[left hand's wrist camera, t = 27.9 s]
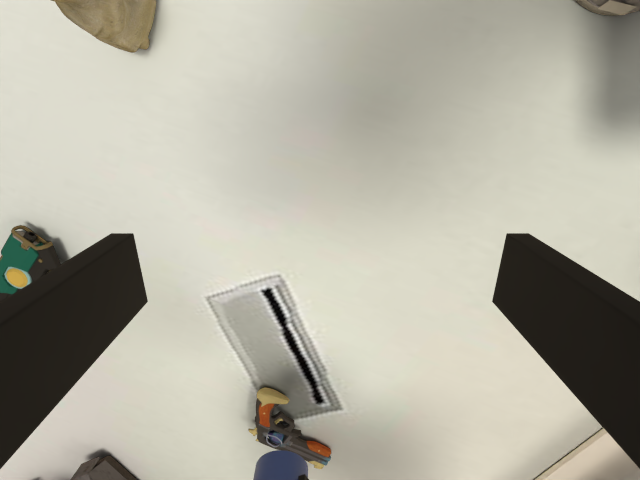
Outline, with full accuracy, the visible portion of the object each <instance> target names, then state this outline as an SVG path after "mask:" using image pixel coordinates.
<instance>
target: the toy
mask: <svg viewBox="0 0 640 480" xmlns="http://www.w3.org/2000/svg"><path fill="white" fill-rule="evenodd" d="M99 459H100V457H97V458H94V459H92V460H90V461H88V462H85V463H83V464H81V466H80V467H79V469H78V470H77V471H76V473H75V474H74V476H73V477H72V479H71V480H137V479H136V478H135V477H133V476H132V475H131V474H130V473H129V472H128V471H127V470H126V469H125V468H123V467H122V466H121V465H120V464H119V463H118V462H117V461H116V460H115V459H114V458H112V457H111V456H107V457H104V458H102V459H100V460H99Z"/></svg>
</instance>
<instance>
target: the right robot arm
mask: <svg viewBox="0 0 640 480" xmlns="http://www.w3.org/2000/svg"><path fill="white" fill-rule="evenodd" d="M298 480H309V479H308V478H307V476H306V475H305V474H303V475H300V476H298Z"/></svg>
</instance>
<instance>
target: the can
mask: <svg viewBox="0 0 640 480" xmlns="http://www.w3.org/2000/svg"><path fill="white" fill-rule="evenodd" d="M303 474H305V475H306V476H307V478H308V466H307V463H306V461H305V460H304V459H303V458H302V457H301V456H299V455H298V454H296V453H293V452H290V451H284V450H278V451H272V452H269V453H266V454H264V455H263V456H262V457H261V458H260V459H259V460H258V462H257V464H256V468H255V474H254V479H253V480H298V476H300V475H303Z"/></svg>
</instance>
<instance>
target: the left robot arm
mask: <svg viewBox="0 0 640 480" xmlns="http://www.w3.org/2000/svg"><path fill="white" fill-rule="evenodd" d="M576 1H577V2H578V3H579V4H580V5H581V6H583V7H584V8H586V9H588V10H590V11H592V12H594V13H597V14H602V15H609V16H616V15H624V14H629V13H633V12H636V11H639V10H640V0H576ZM147 302H148V301H147V296H146V291H145V287H144V282H143V277H142V273H141V268H140V263H139V258H138V254H137V249H136V244H135V240H134V235H133V234H110V235H108V236H107V237H105V238H103V239H102V240H100V241H99V242H97V243H95V244H94V245H92V246H90V247H89V248H87V249H85V250H84V251H82V252H81V253H79V254H77V255H76V256H74V257H72V258H71V259H69V260H68V261H66V262H64V263H63V264H61V265H59V266H58V267H56V268H55V269H53V270H51V271H50V272H48V273H46V274H45V275H43V276H41V277H40V278H38V279H37V280H35V281H33V282H32V283H30V284H28V285H27V286H25V287H24V288H22V289H20V290H19V291H17V292H15V293H14V294H12V295H11V296H9V297H7V298H6V299H4V300H2V301H1V302H0V469H1V468H2V466H3V465H4V464H5V463H6V462H7V461H8V460H9V459H10V457H11V456H12V455H13V454H14V453H15V452H16V451H17V449H18V448H19V447H20V446H21V445H22V444H23V443H24V441H25V440H26V439H27V438H28V437H29V436H30V435H31V434H32V432H33V431H34V430H35V429H36V428H37V427H38V426H39V424H40V423H41V422H42V421H43V420H44V419H45V418H46V416H47V415H48V414H49V413H50V412H51V411H52V410H53V409H54V407H55V406H56V405H57V404H58V403H59V402H60V401H61V399H62V398H63V397H64V396H65V395H66V394H67V393H68V391H69V390H70V389H71V388H72V387H73V386H74V385H75V383H76V382H77V381H78V380H79V379H80V378H81V377H82V376H83V374H84V373H85V372H86V371H87V370H88V369H89V368H90V366H91V365H92V364H93V363H94V362H95V361H96V360H97V358H98V357H99V356H100V355H101V354H102V353H103V352H104V351H105V349H106V348H107V347H108V346H109V345H110V344H111V343H112V341H113V340H114V339H115V338H116V337H117V336H118V335H119V333H120V332H121V331H122V330H123V329H124V328H125V327H126V326H127V324H128V323H129V322H130V321H131V320H132V319H133V318H134V316H135V315H136V314H137V313H138V312H139V311H140V310H141V308H142V307H143V306H144V305H145V304H146V303H147ZM492 302H493V303H494V304H495V305H496V306H497V307H498V308H499V310H500V311H501V312H502V313H503V314H504V315H505V316H506V318H507V319H508V320H509V321H510V322H511V323H512V324H513V326H514V327H515V328H516V329H517V330H518V331H519V332H520V333H521V335H522V336H523V337H524V338H525V339H526V340H527V341H528V343H529V344H530V345H531V346H532V347H533V348H534V349H535V351H536V352H537V353H538V354H539V355H540V356H541V357H542V358H543V360H544V361H545V362H546V363H547V364H548V365H549V366H550V368H551V369H552V370H553V371H554V372H555V373H556V374H557V376H558V377H559V378H560V379H561V380H562V381H563V382H564V383H565V385H566V386H567V387H568V388H569V389H570V390H571V391H572V393H573V394H574V395H575V396H576V397H577V398H578V399H579V401H580V402H581V403H582V404H583V405H584V406H585V407H586V409H587V410H588V411H589V412H590V413H591V414H592V415H593V416H594V418H595V419H596V420H597V421H598V422H599V423H600V424H601V426H602V427H603V428H604V429H605V430H606V431H607V432H608V434H609V435H610V436H611V437H612V438H613V439H614V440H615V441H616V443H617V444H618V445H619V446H620V447H621V448H622V449H623V451H624V452H625V453H626V454H627V455H628V456H629V457H630V459H631V460H632V461H633V462H634V463H635V464H636V465H637V466H638V468H639V469H640V302H639V301H638V300H636V299H634V298H633V297H631V296H629V295H628V294H626V293H625V292H623V291H621V290H620V289H618V288H616V287H615V286H613V285H612V284H610V283H608V282H607V281H605V280H603V279H602V278H600V277H599V276H597V275H595V274H594V273H592V272H590V271H589V270H587V269H585V268H584V267H582V266H581V265H579V264H577V263H576V262H574V261H572V260H571V259H569V258H568V257H566V256H564V255H563V254H561V253H559V252H558V251H556V250H555V249H553V248H551V247H550V246H548V245H546V244H545V243H543V242H541V241H540V240H538V239H537V238H535V237H533V236H532V235H530V234H507V235H506V240H505V244H504V249H503V254H502V258H501V263H500V268H499V273H498V277H497V282H496V287H495V291H494V296H493V301H492Z"/></svg>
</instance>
